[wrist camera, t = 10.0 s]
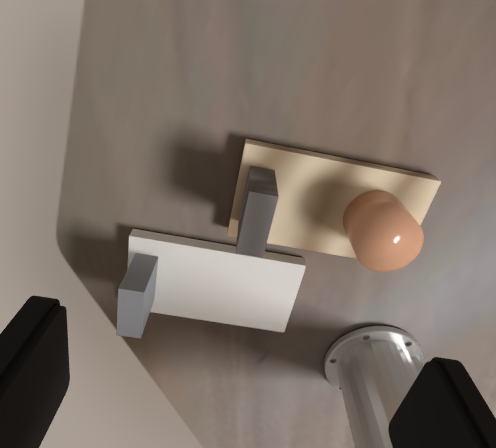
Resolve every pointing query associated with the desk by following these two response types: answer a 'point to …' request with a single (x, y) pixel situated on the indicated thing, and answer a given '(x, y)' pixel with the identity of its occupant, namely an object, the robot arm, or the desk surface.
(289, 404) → the desk surface
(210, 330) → the desk surface
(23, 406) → the robot arm
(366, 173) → the beige stand with post
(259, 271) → the white board gray block
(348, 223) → the peach rounded lump
